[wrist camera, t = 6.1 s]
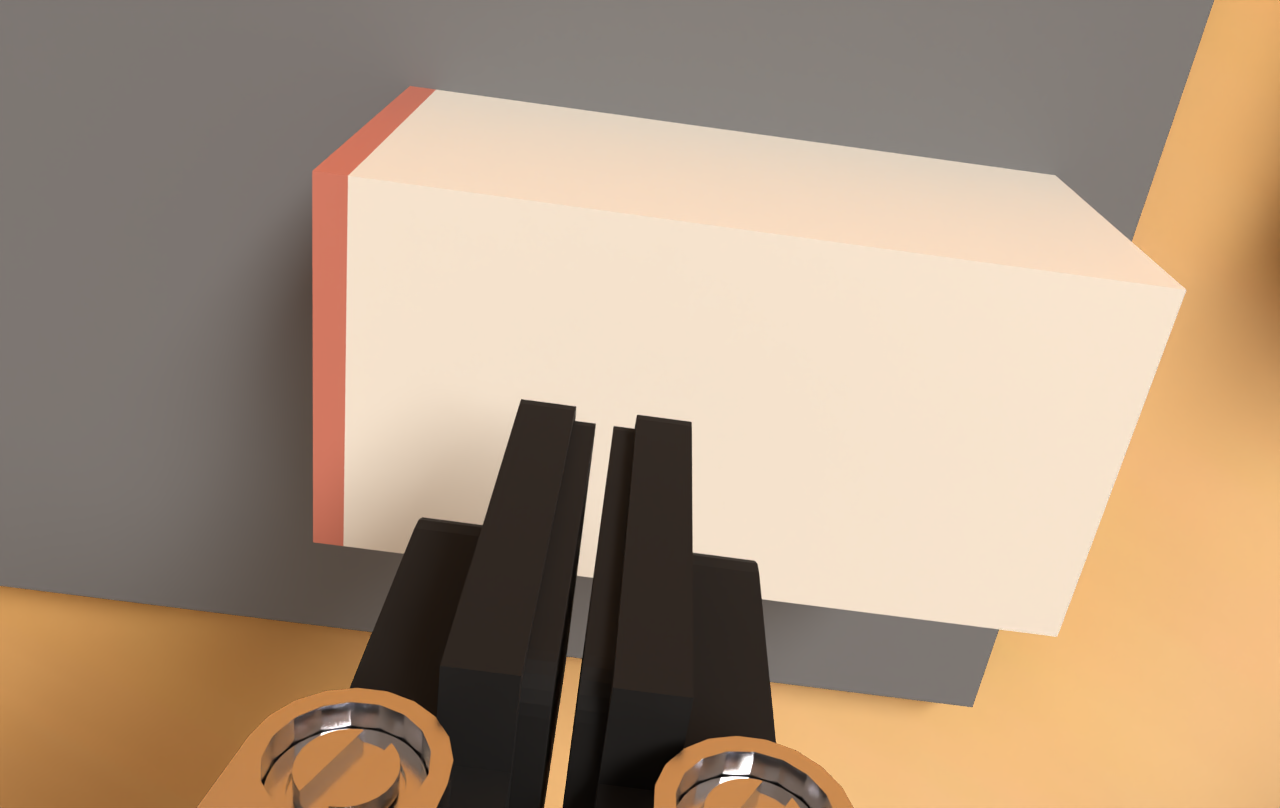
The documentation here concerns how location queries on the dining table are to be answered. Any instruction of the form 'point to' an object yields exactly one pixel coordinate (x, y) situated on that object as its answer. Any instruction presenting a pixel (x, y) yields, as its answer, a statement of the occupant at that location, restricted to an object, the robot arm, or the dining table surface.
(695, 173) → the cream block
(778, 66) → the charcoal mat
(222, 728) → the dining table surface
